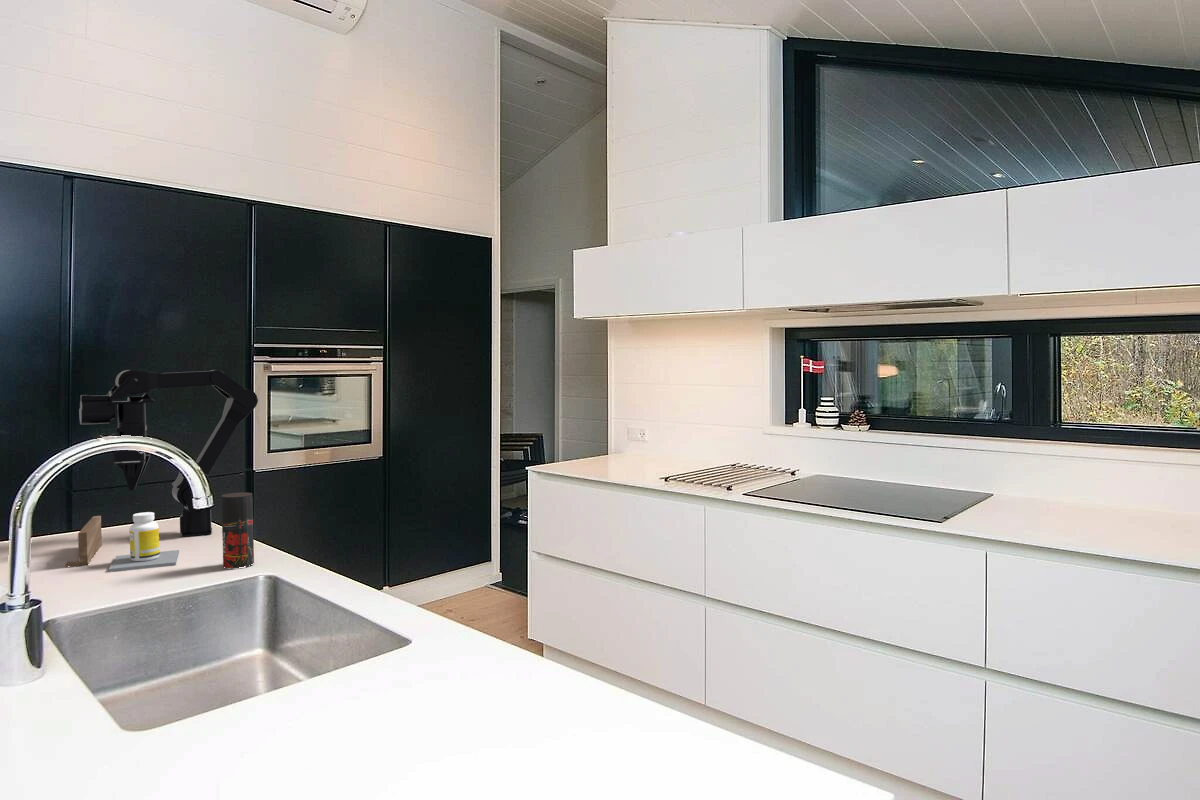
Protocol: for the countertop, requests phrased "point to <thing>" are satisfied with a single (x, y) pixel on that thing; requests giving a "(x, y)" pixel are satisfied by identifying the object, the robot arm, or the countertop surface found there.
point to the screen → (88, 542)
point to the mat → (127, 564)
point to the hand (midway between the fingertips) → (133, 487)
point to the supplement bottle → (144, 537)
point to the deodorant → (237, 529)
